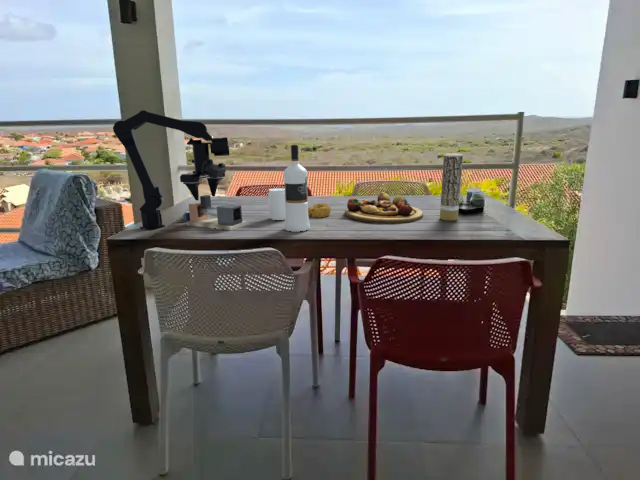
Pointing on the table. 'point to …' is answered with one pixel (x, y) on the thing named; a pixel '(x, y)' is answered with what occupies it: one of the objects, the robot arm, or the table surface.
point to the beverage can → (276, 203)
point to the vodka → (296, 195)
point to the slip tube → (206, 207)
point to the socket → (195, 212)
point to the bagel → (319, 210)
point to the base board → (215, 224)
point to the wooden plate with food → (383, 210)
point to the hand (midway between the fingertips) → (205, 198)
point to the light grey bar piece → (187, 215)
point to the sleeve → (229, 214)
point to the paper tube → (451, 186)
